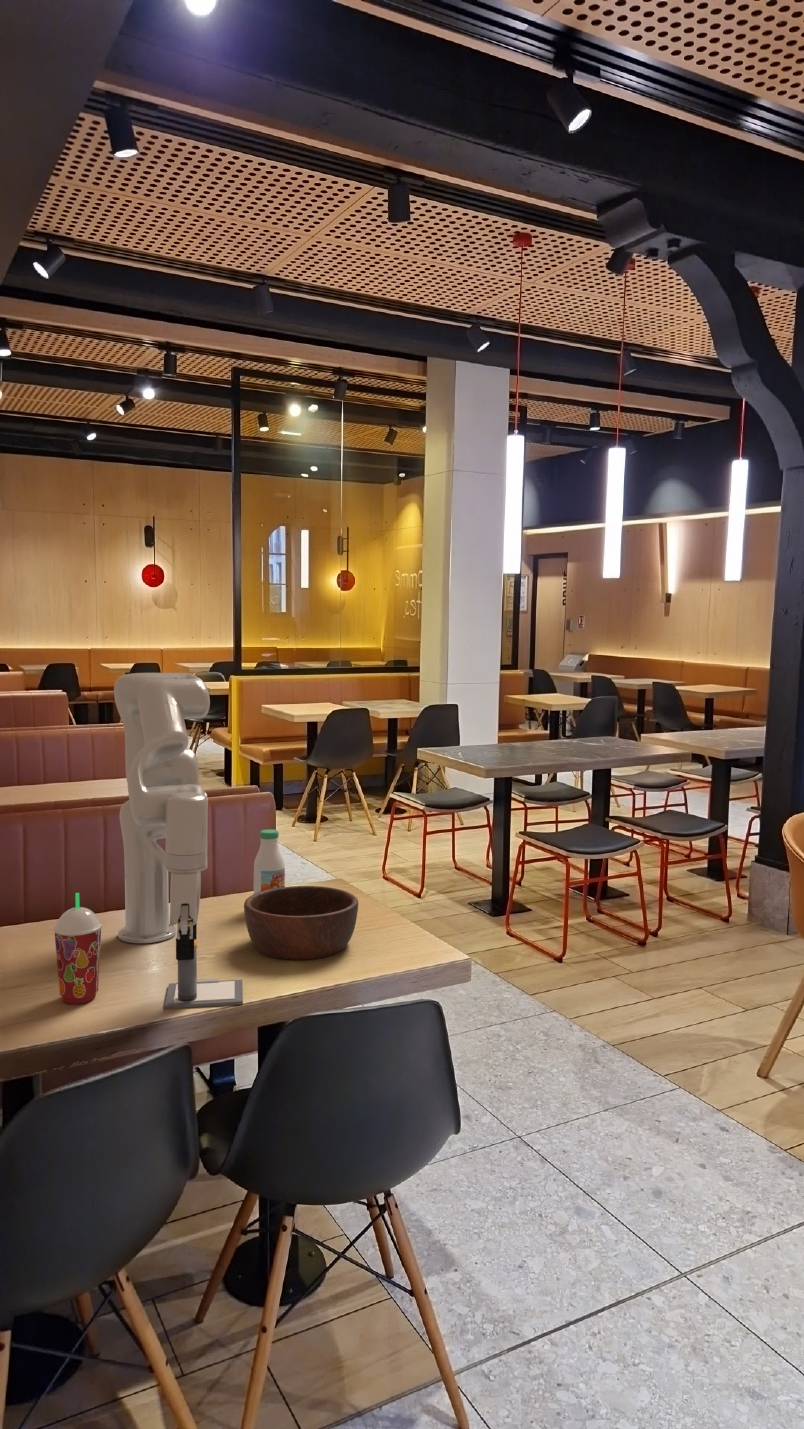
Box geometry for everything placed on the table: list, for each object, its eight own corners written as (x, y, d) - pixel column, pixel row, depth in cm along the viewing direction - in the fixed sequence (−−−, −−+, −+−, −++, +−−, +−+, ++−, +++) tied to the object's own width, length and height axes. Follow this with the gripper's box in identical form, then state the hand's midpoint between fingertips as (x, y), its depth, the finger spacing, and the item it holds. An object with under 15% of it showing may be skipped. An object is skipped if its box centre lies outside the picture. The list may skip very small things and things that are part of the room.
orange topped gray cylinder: (177, 995, 170) (177, 939, 170) (197, 993, 171) (197, 938, 170) (177, 1002, 167) (176, 945, 166) (197, 1001, 168) (196, 944, 167)
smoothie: (108, 989, 175) (106, 887, 173) (95, 1007, 166) (93, 899, 165) (64, 990, 174) (62, 887, 173) (48, 1007, 166) (46, 899, 164)
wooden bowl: (342, 924, 217) (342, 881, 216) (371, 959, 194) (371, 911, 193) (236, 933, 210) (236, 889, 209) (253, 970, 186) (253, 921, 185)
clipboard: (168, 986, 177) (168, 980, 177) (242, 982, 179) (242, 976, 179) (164, 1009, 166) (164, 1003, 166) (242, 1004, 168) (242, 998, 168)
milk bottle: (249, 913, 225) (249, 833, 223) (259, 904, 232) (259, 827, 231) (279, 915, 224) (279, 834, 222) (288, 906, 231) (288, 828, 230)
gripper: (169, 848, 176) (169, 933, 178) (161, 874, 159) (162, 968, 161) (208, 847, 177) (208, 932, 179) (205, 873, 161) (205, 966, 163)
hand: (186, 949), depth 170 cm, fingers open, 9 cm apart
